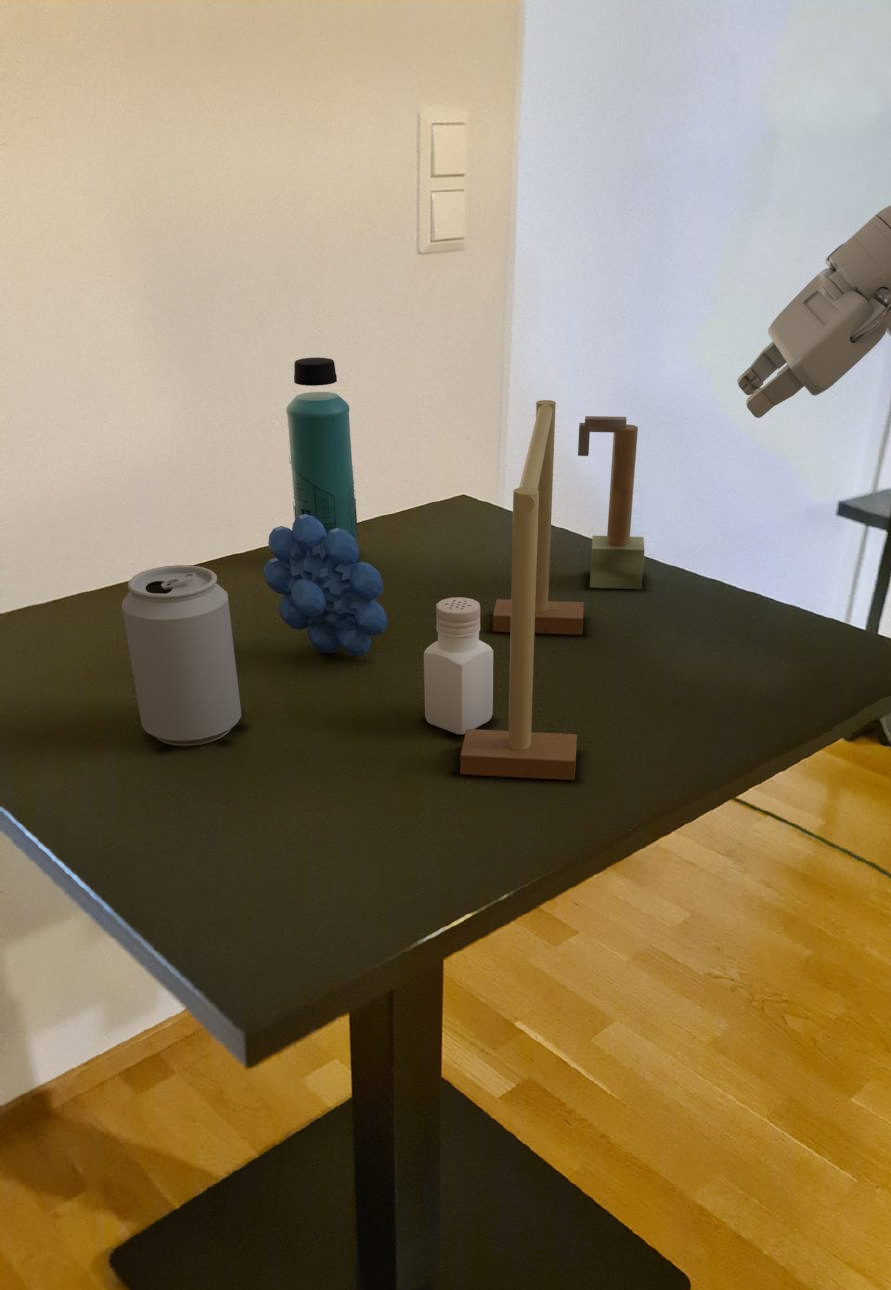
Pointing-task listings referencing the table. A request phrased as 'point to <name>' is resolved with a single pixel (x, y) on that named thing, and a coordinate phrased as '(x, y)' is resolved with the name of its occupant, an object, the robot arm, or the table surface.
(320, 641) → the grapes
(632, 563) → the hook hanger stand
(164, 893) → the table surface
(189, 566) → the can
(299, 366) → the beverage bottle
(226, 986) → the table surface
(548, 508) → the wooden dowel stand
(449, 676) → the pepper shaker
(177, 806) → the table surface
